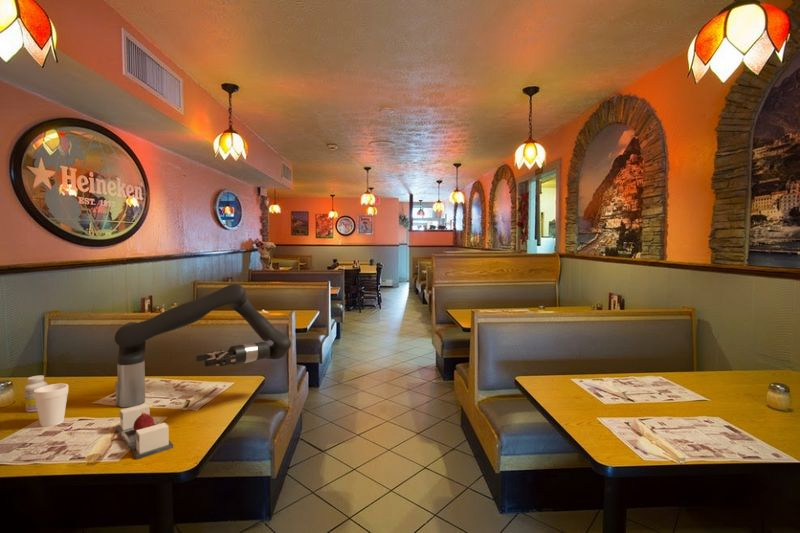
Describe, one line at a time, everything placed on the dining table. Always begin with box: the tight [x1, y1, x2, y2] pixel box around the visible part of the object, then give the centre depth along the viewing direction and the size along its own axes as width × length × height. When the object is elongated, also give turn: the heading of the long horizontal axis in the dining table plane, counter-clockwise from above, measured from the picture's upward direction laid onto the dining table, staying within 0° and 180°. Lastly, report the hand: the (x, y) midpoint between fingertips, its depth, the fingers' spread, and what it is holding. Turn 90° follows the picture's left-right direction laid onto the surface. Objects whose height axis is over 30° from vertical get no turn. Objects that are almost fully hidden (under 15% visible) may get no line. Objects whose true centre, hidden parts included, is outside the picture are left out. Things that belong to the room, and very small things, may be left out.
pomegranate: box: [133, 411, 155, 431], centre depth 132 cm, size 6×6×8 cm
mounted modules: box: [119, 403, 170, 454], centre depth 132 cm, size 26×8×6 cm, turn 46°
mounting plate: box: [115, 421, 174, 460], centre depth 132 cm, size 28×11×2 cm, turn 46°
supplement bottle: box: [24, 374, 49, 413], centre depth 153 cm, size 7×7×13 cm
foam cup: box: [34, 383, 69, 428], centre depth 142 cm, size 10×9×13 cm
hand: (200, 361), depth 145 cm, fingers open, 8 cm apart
